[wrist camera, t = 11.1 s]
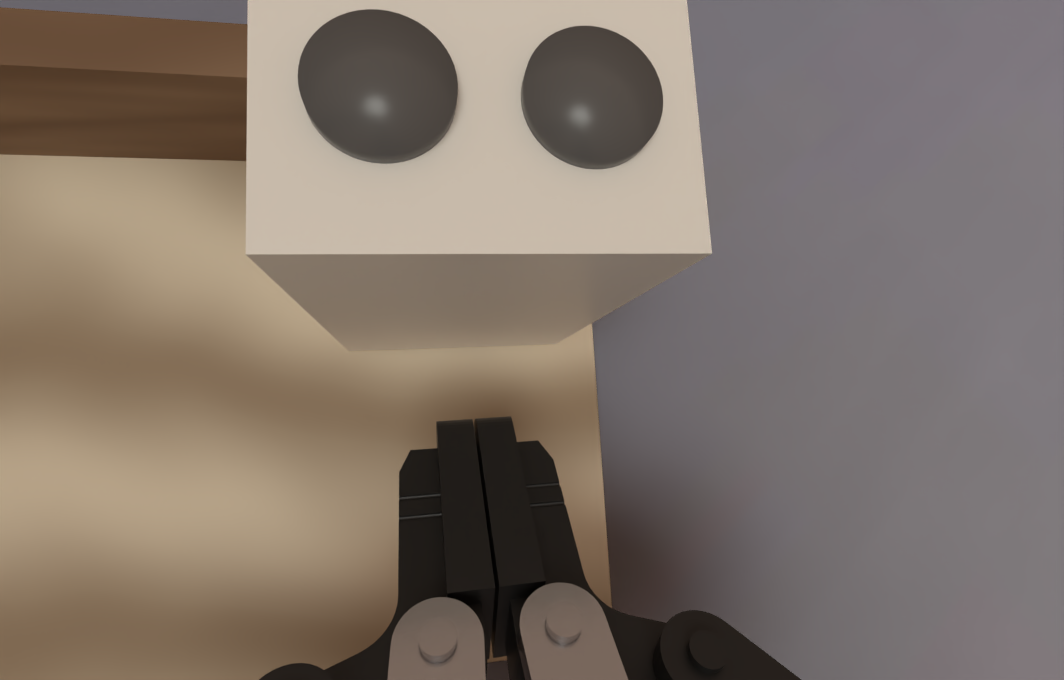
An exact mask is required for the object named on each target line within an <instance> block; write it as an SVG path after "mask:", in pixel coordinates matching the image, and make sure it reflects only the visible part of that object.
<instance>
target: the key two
mask: <svg viewBox="0 0 1064 680" xmlns="http://www.w3.org/2000/svg"><path fill="white" fill-rule="evenodd" d="M710 254H712V249H711V239H710V229H709V219H708V209H707V199H706V189H705V179H704V169H703V159H702V149H701V139H700V129H699V119H698V109H697V99H696V89H695V79H694V69H693V58H692V48H691V38H690V28H689V18H688V8H687V0H248V35H247V149H246V255H247V256H248V257H249V258H250V259H251V260H252V261H253V262H254V263H255V264H256V265H257V266H258V267H260V268H261V269H262V270H263V271H264V272H265V273H266V274H267V275H268V276H269V277H270V278H271V279H272V280H273V281H274V282H276V283H277V284H278V285H279V286H280V287H281V288H282V289H283V290H284V291H285V292H286V293H287V294H288V295H289V296H290V297H292V298H293V299H294V300H295V301H296V302H297V303H298V304H299V305H300V306H301V307H302V308H303V309H304V310H305V311H306V312H308V313H309V314H310V315H311V316H312V317H313V318H314V319H315V320H316V321H317V322H318V323H319V324H320V325H321V326H322V327H324V328H325V329H326V330H327V331H328V332H329V333H330V334H331V335H332V336H333V337H334V338H335V339H336V340H337V341H338V342H340V343H341V344H342V345H343V346H344V347H345V348H346V349H347V350H348V351H364V350H395V349H425V348H455V347H486V346H516V345H547V344H557V343H558V342H560V341H562V340H564V339H565V338H567V337H569V336H571V335H572V334H574V333H576V332H577V331H579V330H581V329H583V328H584V327H586V326H588V325H589V324H591V323H593V322H595V321H596V320H598V319H600V318H602V317H603V316H605V315H607V314H608V313H610V312H612V311H614V310H615V309H617V308H619V307H621V306H622V305H624V304H626V303H627V302H629V301H631V300H633V299H634V298H636V297H638V296H639V295H641V294H643V293H645V292H646V291H648V290H650V289H652V288H653V287H655V286H657V285H658V284H660V283H662V282H664V281H665V280H667V279H669V278H671V277H672V276H674V275H676V274H677V273H679V272H681V271H683V270H684V269H686V268H688V267H689V266H691V265H693V264H695V263H696V262H698V261H700V260H702V259H703V258H705V257H707V256H708V255H710Z"/></svg>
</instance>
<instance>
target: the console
mask: <svg viewBox="0 0 1064 680" xmlns="http://www.w3.org/2000/svg"><path fill="white" fill-rule="evenodd" d="M247 35H248V25H247V24H233V23H218V22H204V21H189V20H175V19H160V18H146V17H131V16H117V15H102V14H88V13H73V12H59V11H44V10H30V9H15V8H1V7H0V680H259V679H260V678H261V677H263V676H264V675H265V674H267V673H269V672H270V671H272V670H274V669H276V668H279V667H281V666H284V665H288V664H293V663H308V664H312V665H315V666H318V667H320V668H321V669H323V670H325V669H327V668H329V667H331V666H333V665H335V664H337V663H339V662H341V661H343V660H345V659H347V658H349V657H352V656H354V655H356V654H358V653H359V652H361V651H363V650H365V649H366V648H368V647H369V646H370V645H372V644H373V643H374V642H375V641H376V640H377V639H378V638H379V637H380V636H381V635H382V634H383V633H384V632H385V630H386V629H387V628H388V626H389V624H390V623H391V621H392V619H393V616H394V614H395V611H396V607H397V603H398V551H399V471H400V469H401V467H402V465H403V464H404V462H405V460H406V458H407V456H408V454H409V452H410V450H418V449H432V448H437V438H436V421H448V420H463V419H472V420H473V424H474V420H475V419H476V418H491V417H506V416H511V418H512V421H513V426H514V430H515V435H516V440H517V442H523V441H536V440H538V441H539V442H540V443H541V445H542V446H543V447H544V448H545V450H546V451H547V452H548V453H549V454H550V456H551V457H552V458H553V460H554V463H555V467H556V471H557V475H558V478H559V485H560V486H561V490H562V493H563V497H564V504H565V505H566V508H567V512H568V516H569V520H570V523H571V527H572V531H573V535H574V538H575V542H576V546H577V550H578V554H579V557H580V561H581V565H582V569H583V572H584V575H585V578H586V581H587V583H588V585H589V586H590V588H591V589H592V591H593V592H594V594H595V595H596V596H597V597H598V598H599V599H600V600H601V601H602V602H604V603H605V604H606V605H608V606H609V607H611V608H612V602H611V588H610V573H609V559H608V545H607V531H606V517H605V502H604V488H603V474H602V460H601V446H600V431H599V417H598V403H597V389H596V375H595V360H594V346H593V332H592V323H591V324H589V325H588V326H586V327H584V328H583V329H581V330H579V331H577V332H576V333H574V334H572V335H571V336H569V337H567V338H565V339H564V340H562V341H560V342H558V343H557V344H547V345H516V346H486V347H455V348H425V349H395V350H364V351H348V350H347V349H346V348H345V347H344V346H343V345H342V344H341V343H340V342H338V341H337V340H336V339H335V338H334V337H333V336H332V335H331V334H330V333H329V332H328V331H327V330H326V329H325V328H324V327H322V326H321V325H320V324H319V323H318V322H317V321H316V320H315V319H314V318H313V317H312V316H311V315H310V314H309V313H308V312H306V311H305V310H304V309H303V308H302V307H301V306H300V305H299V304H298V303H297V302H296V301H295V300H294V299H293V298H292V297H290V296H289V295H288V294H287V293H286V292H285V291H284V290H283V289H282V288H281V287H280V286H279V285H278V284H277V283H276V282H274V281H273V280H272V279H271V278H270V277H269V276H268V275H267V274H266V273H265V272H264V271H263V270H262V269H261V268H260V267H258V266H257V265H256V264H255V263H254V262H253V261H252V260H251V259H250V258H249V257H248V256H247V255H246V149H247ZM503 660H507V656H503V657H497V658H493V653H492V644H491V645H490V657H489V659H487V663H488V662H496V661H503Z"/></svg>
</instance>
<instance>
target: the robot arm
mask: <svg viewBox="0 0 1064 680" xmlns="http://www.w3.org/2000/svg"><path fill="white" fill-rule="evenodd" d="M436 438H437V448H432V449H418V450H410V452H409V454H408V456H407V458H406V460H405V462H404V464H403V465H402V467H401V469H400V471H399V551H398V603H397V607H396V611H395V614H394V616H393V619H392V621H391V623H390V624H389V626H388V628H387V629H386V630H385V632H384V633H383V634H382V635H381V636H380V637H379V638H378V639H377V640H376V641H375V642H374V643H373V644H372V645H370V646H369V647H368V648H366V649H365V650H363V651H361V652H359V653H358V654H356V655H354V656H352V657H349V658H347V659H345V660H343V661H341V662H339V663H337V664H335V665H333V666H331V667H329V668H327V669H325V670H323V669H321V668H320V667H318V666H315V665H312V664H308V663H293V664H288V665H284V666H281V667H279V668H276V669H274V670H272V671H270V672H269V673H267V674H265V675H264V676H263V677H261V678H260V679H259V680H486V672H487V659H489V657H490V645H491V644H492V653H493V658H497V657H503V656H507V662H508V670H509V677H510V680H801V679H800V678H798V677H797V676H796V675H794V674H793V673H792V672H790V671H789V670H788V669H786V668H785V667H784V666H783V665H781V664H780V663H779V662H777V661H776V660H775V659H773V658H772V657H771V656H769V655H768V654H767V653H765V652H764V651H763V650H762V649H760V648H759V647H758V646H756V645H755V644H754V643H752V642H751V641H750V640H748V639H747V638H746V637H744V636H743V635H742V634H741V633H739V632H738V631H737V630H735V629H734V628H733V627H731V626H730V625H729V624H727V623H726V622H725V621H723V620H722V619H720V618H719V617H717V616H714V615H712V614H710V613H707V612H703V611H697V610H692V611H684V612H681V613H679V614H676V615H675V616H674V617H672V618H671V619H670V620H669V621H668V622H667V623H663V622H659V621H654V620H649V619H644V618H640V617H635V616H630V615H627V614H623V613H621V612H618V611H616V610H614V609H612V608H611V607H609V606H608V605H606V604H605V603H604V602H602V601H601V600H600V599H599V598H598V597H597V596H596V595H595V594H594V592H593V591H592V589H591V588H590V586H589V585H588V583H587V581H586V578H585V575H584V572H583V569H582V565H581V561H580V557H579V554H578V550H577V546H576V542H575V538H574V535H573V531H572V527H571V523H570V520H569V516H568V512H567V508H566V505H565V504H564V497H563V493H562V490H561V486H560V485H559V478H558V475H557V471H556V467H555V463H554V460H553V458H552V457H551V456H550V454H549V453H548V452H547V451H546V450H545V448H544V447H543V446H542V445H541V443H540V442H539V441H538V440H536V441H523V442H517V440H516V435H515V430H514V426H513V421H512V418H511V416H506V417H491V418H476V419H475V420H474V424H473V420H472V419H463V420H448V421H436Z"/></svg>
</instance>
